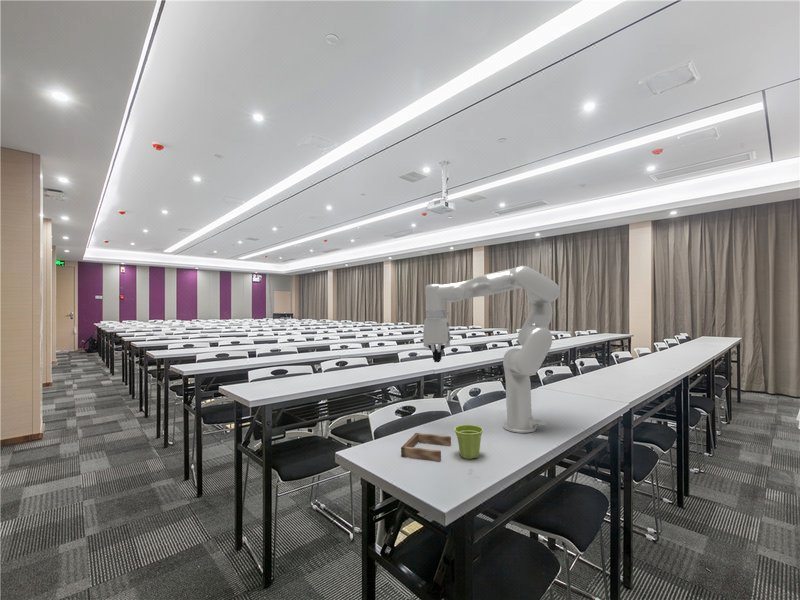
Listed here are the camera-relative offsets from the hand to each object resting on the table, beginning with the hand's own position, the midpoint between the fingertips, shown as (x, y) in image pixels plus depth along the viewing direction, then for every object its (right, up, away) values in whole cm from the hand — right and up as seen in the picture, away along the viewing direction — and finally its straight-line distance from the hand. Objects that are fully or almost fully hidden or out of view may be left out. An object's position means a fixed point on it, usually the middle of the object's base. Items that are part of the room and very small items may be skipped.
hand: (437, 361), depth 143 cm
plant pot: (+8, -27, -24) cm, 37 cm away
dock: (-5, -27, -19) cm, 34 cm away
